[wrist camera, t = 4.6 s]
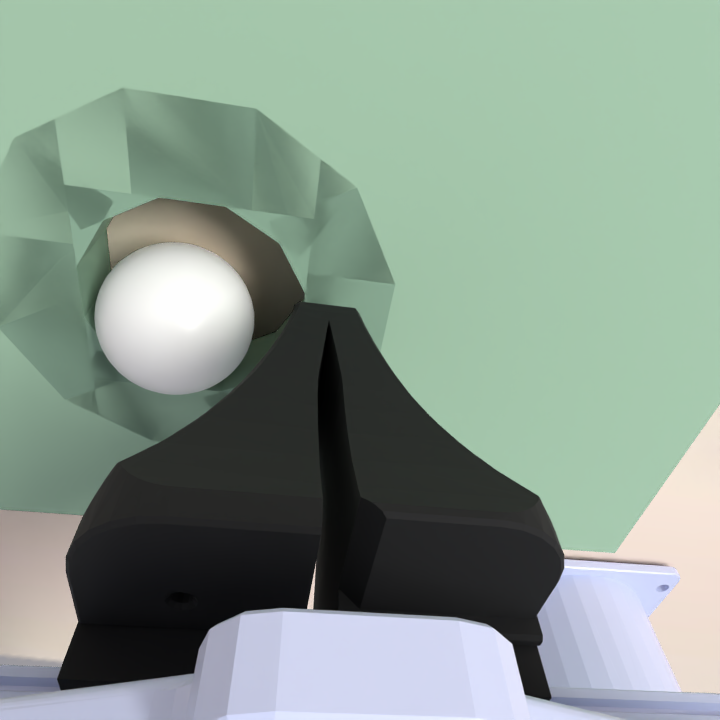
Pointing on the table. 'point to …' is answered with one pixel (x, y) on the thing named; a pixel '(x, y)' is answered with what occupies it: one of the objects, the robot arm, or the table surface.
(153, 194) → the deck
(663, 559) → the table surface
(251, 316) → the ball
